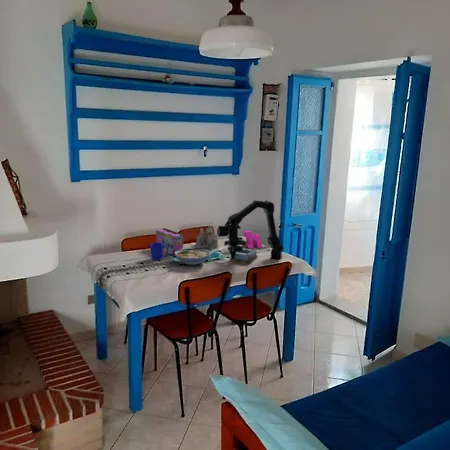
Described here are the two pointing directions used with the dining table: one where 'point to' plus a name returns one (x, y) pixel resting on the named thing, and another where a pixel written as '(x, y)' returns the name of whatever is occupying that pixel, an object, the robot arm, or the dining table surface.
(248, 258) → the folding leg
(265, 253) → the dining table surface
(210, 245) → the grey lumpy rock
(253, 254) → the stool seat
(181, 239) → the gum box
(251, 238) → the magenta blocky figure
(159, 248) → the mug
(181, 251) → the ramen bowl
